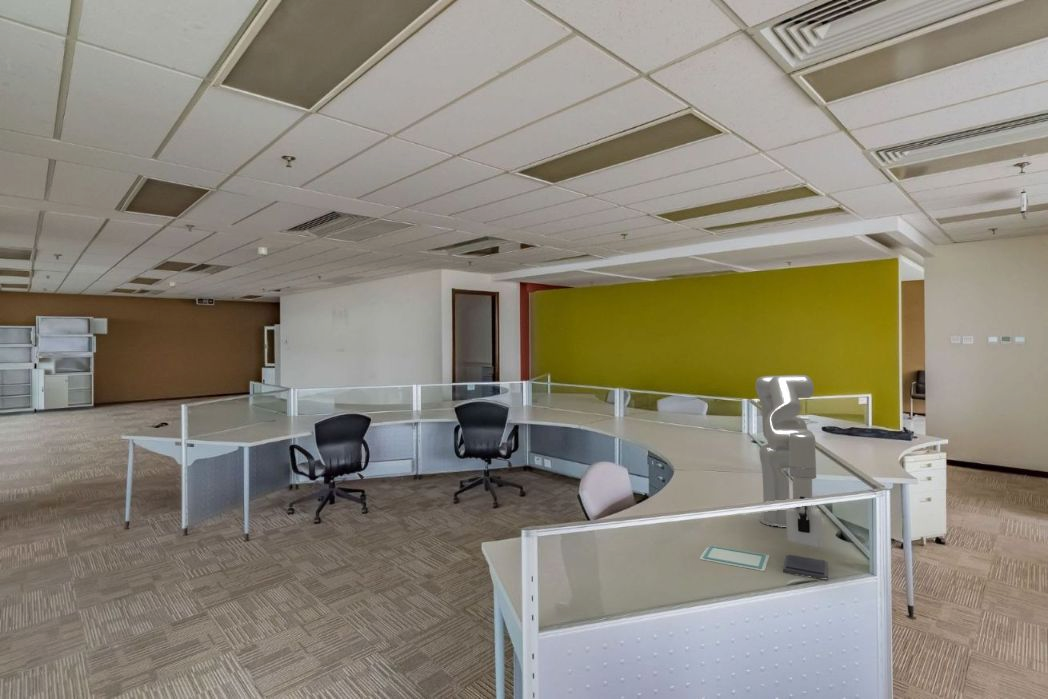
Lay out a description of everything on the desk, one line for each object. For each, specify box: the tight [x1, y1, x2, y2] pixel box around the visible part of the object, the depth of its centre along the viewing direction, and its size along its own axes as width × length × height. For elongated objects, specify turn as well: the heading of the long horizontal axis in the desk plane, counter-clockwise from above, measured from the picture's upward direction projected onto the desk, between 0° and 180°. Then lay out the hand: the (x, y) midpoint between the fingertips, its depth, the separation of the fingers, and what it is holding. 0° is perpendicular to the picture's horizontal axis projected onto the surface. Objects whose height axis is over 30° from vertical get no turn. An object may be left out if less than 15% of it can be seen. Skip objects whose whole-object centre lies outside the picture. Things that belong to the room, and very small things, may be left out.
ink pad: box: [782, 554, 829, 579], centre depth 160 cm, size 12×12×2 cm
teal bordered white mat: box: [698, 544, 770, 573], centre depth 170 cm, size 14×20×1 cm
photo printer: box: [786, 505, 824, 549], centre depth 160 cm, size 10×4×12 cm, turn 43°
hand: (804, 528), depth 160 cm, fingers closed on photo printer, 5 cm apart
